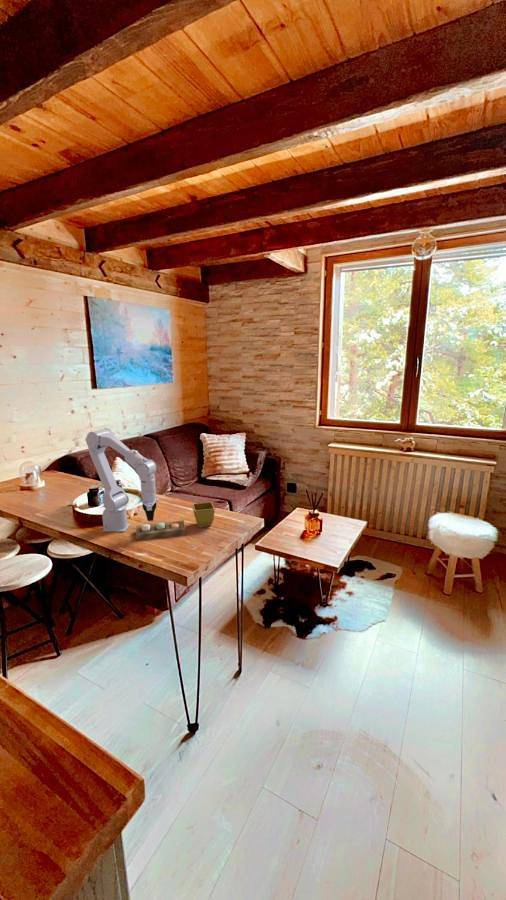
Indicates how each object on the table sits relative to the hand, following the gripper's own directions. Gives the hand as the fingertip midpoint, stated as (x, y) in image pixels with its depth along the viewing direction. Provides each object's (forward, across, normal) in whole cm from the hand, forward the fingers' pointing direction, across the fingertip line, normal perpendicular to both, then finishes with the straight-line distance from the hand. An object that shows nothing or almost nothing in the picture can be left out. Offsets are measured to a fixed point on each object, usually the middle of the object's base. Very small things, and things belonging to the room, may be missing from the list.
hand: (150, 520), depth 159 cm
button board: (+6, 0, -4) cm, 7 cm away
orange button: (+6, 0, -10) cm, 12 cm away
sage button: (+5, 0, -4) cm, 6 cm away
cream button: (+5, 0, +2) cm, 5 cm away
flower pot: (+6, +3, -23) cm, 24 cm away
